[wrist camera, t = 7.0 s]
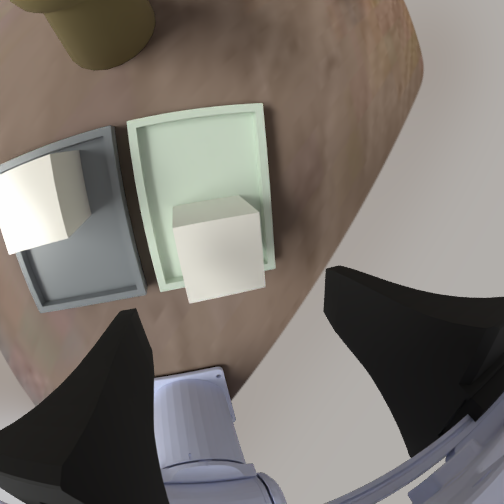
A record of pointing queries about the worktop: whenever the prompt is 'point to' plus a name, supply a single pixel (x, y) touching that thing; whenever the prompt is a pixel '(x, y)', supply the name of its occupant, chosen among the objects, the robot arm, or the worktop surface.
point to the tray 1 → (87, 234)
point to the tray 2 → (198, 173)
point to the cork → (97, 28)
